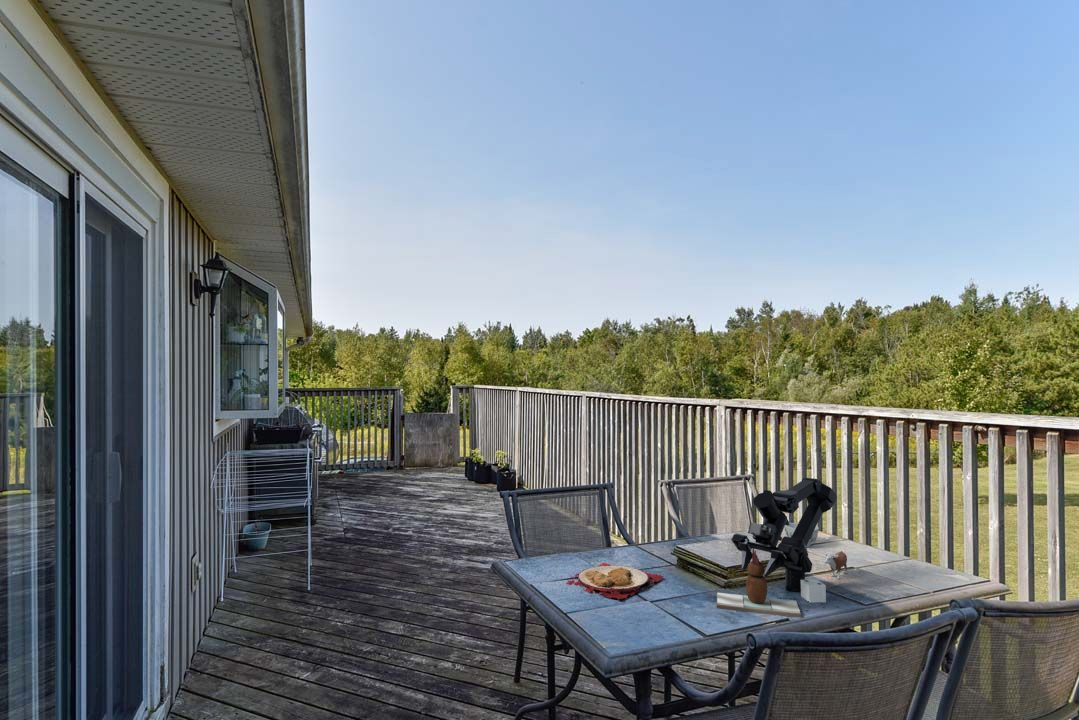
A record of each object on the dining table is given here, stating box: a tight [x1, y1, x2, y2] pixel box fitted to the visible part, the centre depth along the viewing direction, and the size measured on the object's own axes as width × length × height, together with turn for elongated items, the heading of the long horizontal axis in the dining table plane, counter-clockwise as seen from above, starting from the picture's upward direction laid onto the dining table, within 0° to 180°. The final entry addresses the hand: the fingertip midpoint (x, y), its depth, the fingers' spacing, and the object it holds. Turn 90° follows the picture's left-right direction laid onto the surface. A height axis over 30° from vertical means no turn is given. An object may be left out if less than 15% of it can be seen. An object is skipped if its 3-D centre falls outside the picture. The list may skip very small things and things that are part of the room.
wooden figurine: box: [745, 548, 768, 603], centre depth 166 cm, size 7×6×15 cm
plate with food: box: [565, 562, 665, 600], centre depth 187 cm, size 25×26×4 cm
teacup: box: [784, 522, 820, 548], centre depth 230 cm, size 15×12×8 cm
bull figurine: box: [823, 550, 848, 580], centre depth 192 cm, size 4×13×8 cm, turn 132°
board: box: [716, 592, 802, 618], centre depth 166 cm, size 10×22×1 cm, turn 73°
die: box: [800, 579, 827, 603], centre depth 172 cm, size 5×5×5 cm
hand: (753, 572), depth 165 cm, fingers open, 7 cm apart
